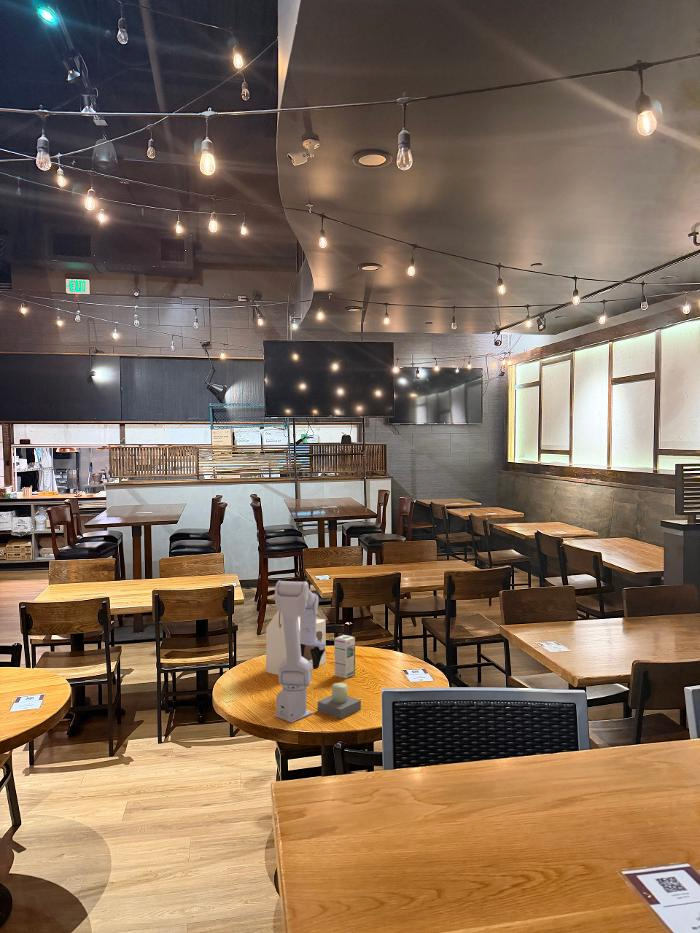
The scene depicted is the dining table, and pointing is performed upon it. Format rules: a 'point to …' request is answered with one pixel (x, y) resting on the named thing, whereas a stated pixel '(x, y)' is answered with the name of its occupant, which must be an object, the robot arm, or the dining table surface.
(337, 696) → the green cylinder
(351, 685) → the dining table surface
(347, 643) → the syrup box
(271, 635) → the gable box
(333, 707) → the charcoal plinth
